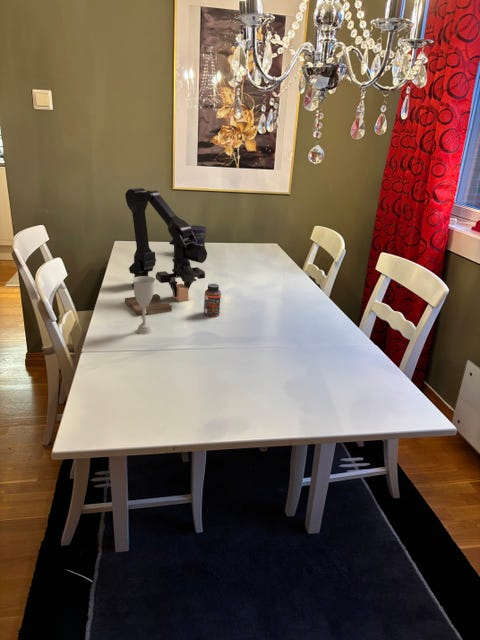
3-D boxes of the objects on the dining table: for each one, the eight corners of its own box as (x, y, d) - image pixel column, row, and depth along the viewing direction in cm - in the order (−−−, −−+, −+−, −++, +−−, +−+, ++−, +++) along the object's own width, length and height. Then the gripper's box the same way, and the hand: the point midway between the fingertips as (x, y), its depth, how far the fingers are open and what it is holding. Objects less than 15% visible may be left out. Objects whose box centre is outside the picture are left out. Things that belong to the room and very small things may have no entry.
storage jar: (183, 254, 254) (183, 225, 248) (200, 253, 258) (201, 225, 252) (189, 259, 245) (190, 230, 240) (207, 258, 249) (209, 229, 244)
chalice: (146, 325, 167) (145, 274, 160) (159, 331, 163) (159, 279, 156) (128, 331, 162) (127, 279, 155) (142, 337, 158) (141, 284, 151)
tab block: (172, 296, 194) (172, 284, 192) (181, 295, 196) (182, 283, 194) (178, 301, 190) (179, 289, 188) (188, 300, 192) (188, 288, 190)
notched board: (124, 303, 185) (124, 298, 184) (157, 298, 191) (157, 293, 190) (137, 316, 174) (137, 310, 173) (171, 311, 180) (171, 306, 179)
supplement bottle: (205, 317, 177) (206, 287, 172) (202, 311, 182) (203, 282, 178) (221, 316, 178) (223, 287, 174) (217, 310, 184) (219, 282, 179)
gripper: (166, 265, 176) (166, 306, 182) (212, 261, 185) (210, 299, 191) (155, 257, 184) (155, 296, 190) (199, 253, 194) (198, 290, 200)
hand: (180, 295), depth 193 cm, fingers closed on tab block, 4 cm apart
